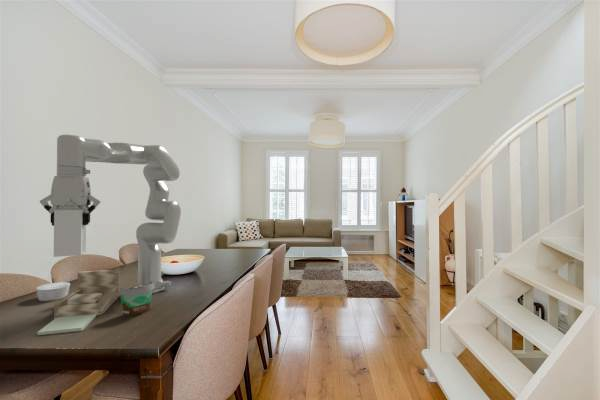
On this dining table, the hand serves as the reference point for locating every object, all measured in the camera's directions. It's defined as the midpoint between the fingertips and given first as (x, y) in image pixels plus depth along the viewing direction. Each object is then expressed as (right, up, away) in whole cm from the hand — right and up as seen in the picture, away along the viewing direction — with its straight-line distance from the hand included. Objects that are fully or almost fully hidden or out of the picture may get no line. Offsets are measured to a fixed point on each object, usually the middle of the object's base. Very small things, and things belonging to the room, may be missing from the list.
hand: (70, 224), depth 95 cm
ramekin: (-29, -34, +26) cm, 52 cm away
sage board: (0, -34, 0) cm, 34 cm away
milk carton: (0, -10, 0) cm, 10 cm away
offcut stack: (-4, -34, +12) cm, 36 cm away
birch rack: (-5, -34, +16) cm, 38 cm away
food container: (+17, -34, +11) cm, 40 cm away
